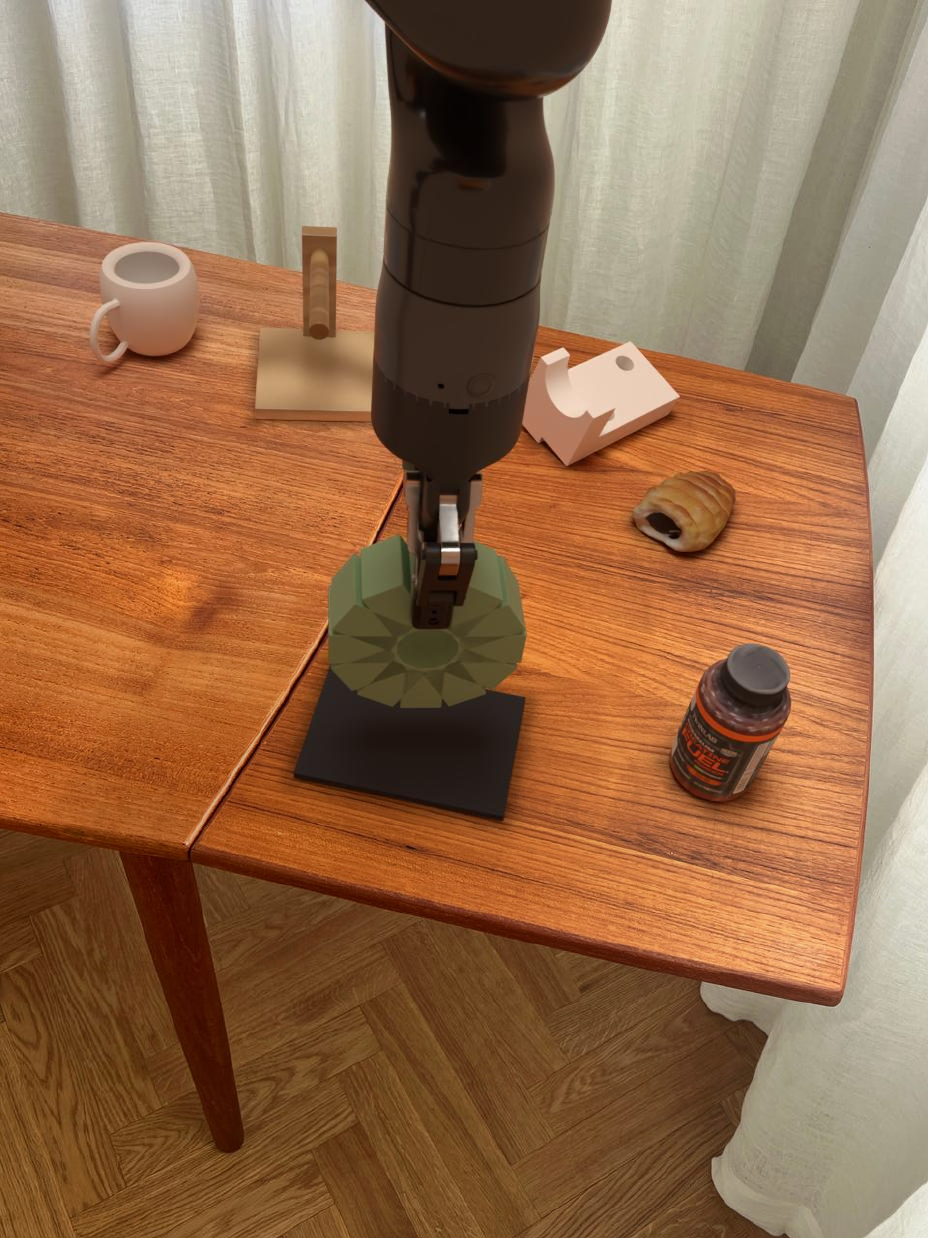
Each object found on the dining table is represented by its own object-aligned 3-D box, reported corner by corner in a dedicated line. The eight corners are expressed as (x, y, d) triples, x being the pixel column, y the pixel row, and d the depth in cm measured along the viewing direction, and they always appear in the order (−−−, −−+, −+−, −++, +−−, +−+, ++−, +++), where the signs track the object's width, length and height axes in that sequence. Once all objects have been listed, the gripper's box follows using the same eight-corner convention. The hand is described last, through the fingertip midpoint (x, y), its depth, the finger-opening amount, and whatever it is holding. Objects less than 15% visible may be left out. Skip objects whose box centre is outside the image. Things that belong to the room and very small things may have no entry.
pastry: (686, 473, 97) (697, 439, 94) (751, 513, 95) (764, 479, 92) (623, 524, 92) (633, 490, 89) (690, 567, 89) (702, 534, 87)
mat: (293, 777, 73) (293, 772, 72) (332, 663, 80) (332, 657, 79) (502, 821, 72) (503, 816, 72) (524, 702, 79) (525, 696, 78)
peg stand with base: (382, 425, 97) (388, 312, 89) (255, 423, 96) (248, 307, 87) (377, 340, 106) (382, 228, 97) (260, 336, 104) (255, 223, 96)
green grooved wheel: (511, 707, 71) (538, 583, 62) (327, 709, 69) (329, 582, 61) (504, 659, 73) (529, 533, 65) (327, 659, 72) (329, 530, 63)
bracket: (562, 472, 97) (593, 418, 91) (514, 414, 99) (540, 357, 92) (663, 420, 103) (699, 366, 97) (616, 366, 105) (647, 310, 99)
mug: (151, 302, 106) (141, 226, 100) (222, 334, 104) (216, 259, 98) (60, 362, 99) (44, 284, 93) (135, 398, 97) (123, 320, 91)
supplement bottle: (650, 770, 76) (691, 666, 68) (695, 719, 79) (740, 614, 71) (725, 822, 74) (777, 721, 65) (768, 767, 77) (823, 664, 69)
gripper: (369, 262, 56) (360, 510, 69) (378, 445, 47) (366, 692, 60) (515, 268, 57) (480, 511, 70) (552, 449, 48) (504, 691, 61)
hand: (427, 593), depth 65 cm, fingers closed on green grooved wheel, 4 cm apart
